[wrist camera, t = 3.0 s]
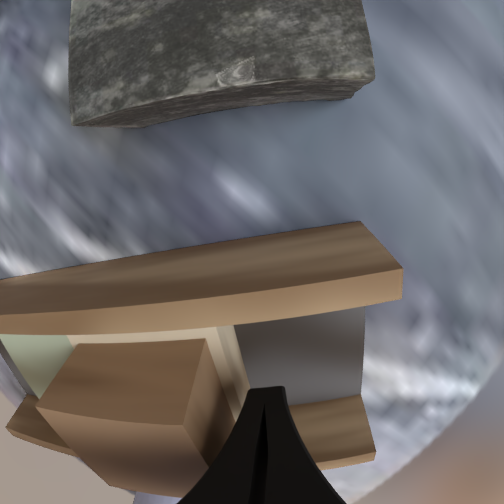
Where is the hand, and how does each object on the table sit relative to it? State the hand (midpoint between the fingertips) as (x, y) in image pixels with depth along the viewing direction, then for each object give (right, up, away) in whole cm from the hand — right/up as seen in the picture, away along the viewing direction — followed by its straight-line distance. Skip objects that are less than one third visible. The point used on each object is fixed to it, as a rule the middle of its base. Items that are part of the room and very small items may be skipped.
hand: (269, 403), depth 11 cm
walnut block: (-5, 0, +1) cm, 5 cm away
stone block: (-1, +18, -3) cm, 18 cm away
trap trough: (-8, 0, +4) cm, 9 cm away
